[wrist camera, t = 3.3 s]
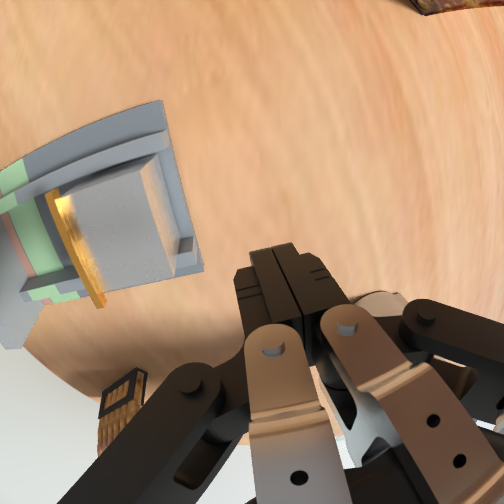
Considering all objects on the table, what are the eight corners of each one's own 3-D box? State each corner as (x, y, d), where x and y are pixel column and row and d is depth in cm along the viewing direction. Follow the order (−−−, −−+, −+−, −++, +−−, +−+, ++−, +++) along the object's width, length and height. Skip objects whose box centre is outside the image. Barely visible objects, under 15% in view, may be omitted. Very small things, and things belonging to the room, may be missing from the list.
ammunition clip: (112, 397, 35) (103, 463, 24) (102, 392, 34) (91, 458, 23) (147, 373, 32) (141, 453, 22) (136, 366, 31) (127, 448, 21)
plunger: (155, 144, 18) (132, 161, 12) (182, 243, 23) (176, 293, 17) (86, 168, 18) (44, 194, 12) (119, 258, 22) (97, 308, 16)
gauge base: (162, 100, 18) (138, 95, 11) (204, 264, 26) (205, 324, 19) (-20, 186, 17) (-67, 216, 10) (32, 301, 24) (5, 349, 17)
